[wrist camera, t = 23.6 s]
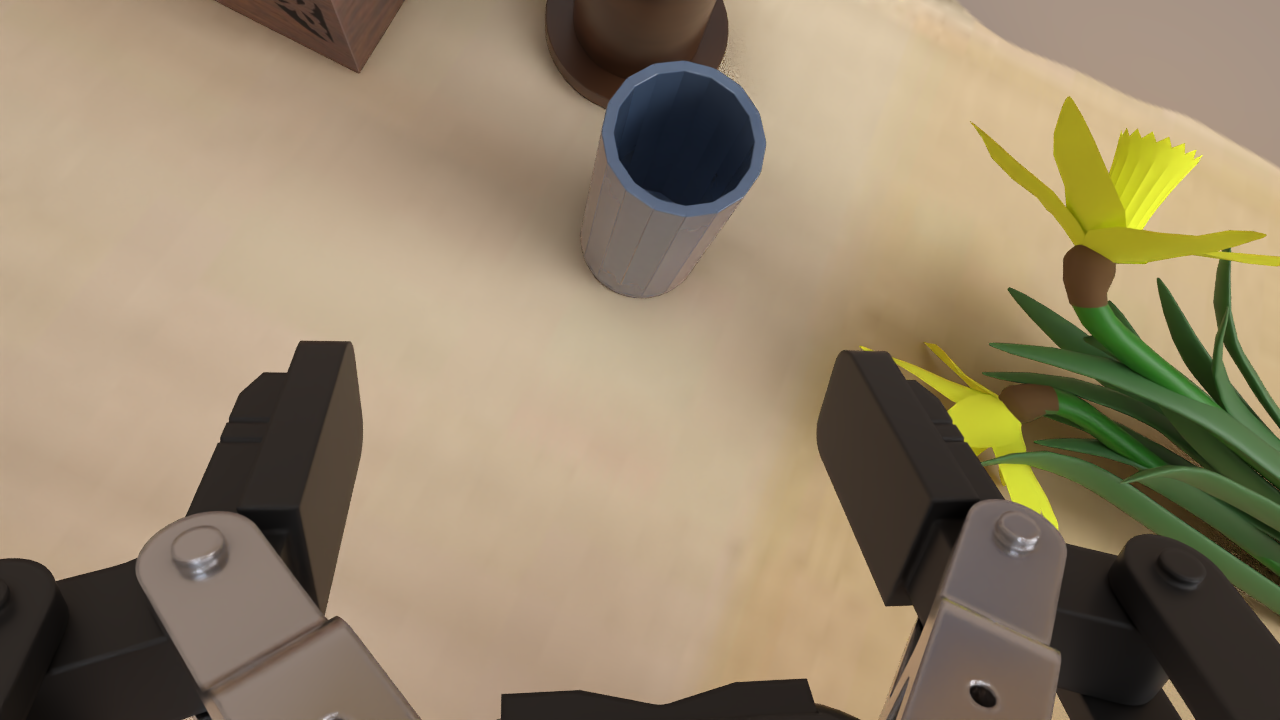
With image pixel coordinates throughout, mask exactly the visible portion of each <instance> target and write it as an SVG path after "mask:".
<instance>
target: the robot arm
mask: <svg viewBox="0 0 1280 720" xmlns="http://www.w3.org/2000/svg"><path fill="white" fill-rule="evenodd" d="M362 441H363V419H362V410H361V402H360V394H359V386H358V378H357V370H356V362H355V354H354V348H353V345H352V343H351V342H350V341H300V342H299V344H298V346H297V348H296V351H295V354H294V356H293V359H292V361H291V364H290V367H289V369H288V372H287V373H269V372H263V373H262V374H261V375H260V376H259V377H258V378H257V379H256V380H254V381H253V382H252V383H251V384H250V385H249V386H248V387H247V388H245V389H244V390H243V391H242V392H241V393H240V394H239V396H238V398H237V401H236V403H235V405H234V408H233V410H232V412H231V414H230V417H229V423H226V426H225V428H224V430H223V433H222V435H221V437H220V443H218V444H217V446H216V448H215V451H214V453H213V455H212V458H211V460H210V462H209V464H208V467H207V469H206V471H205V473H204V476H203V478H202V480H201V483H200V485H199V487H198V489H197V492H196V494H195V496H194V498H193V501H192V503H191V505H190V508H189V510H188V512H187V514H186V516H185V517H184V518H182V519H179V520H177V521H175V522H173V523H171V524H169V525H167V526H166V527H164V528H163V529H161V530H160V531H158V532H157V533H156V534H155V535H154V536H152V537H151V538H150V540H149V541H148V542H147V543H146V544H145V545H144V547H143V548H142V550H141V551H140V553H139V556H138V558H136V559H134V560H131V561H129V562H126V563H123V564H120V565H117V566H113V567H110V568H106V569H102V570H98V571H94V572H90V573H86V574H82V575H78V576H74V577H71V578H67V579H63V580H59V581H55V579H54V577H53V575H52V573H51V572H50V571H49V570H48V569H47V568H46V567H45V566H44V565H42V564H40V563H38V562H35V561H32V560H27V559H20V558H8V559H0V720H182V719H185V718H188V717H191V716H192V717H193V719H194V720H421V718H420V717H419V716H418V714H417V713H416V712H415V710H414V709H413V708H412V707H411V705H410V704H409V703H408V701H407V700H406V699H405V697H404V696H403V695H402V693H401V692H400V691H399V690H398V688H397V687H396V686H395V684H394V683H393V682H392V680H391V679H390V678H389V676H388V675H387V674H386V673H385V671H384V670H383V669H382V667H381V666H380V665H379V663H378V662H377V661H376V659H375V658H374V657H373V656H372V654H371V653H370V652H369V650H368V649H367V648H366V646H365V645H364V644H363V642H362V641H361V640H360V639H359V637H358V636H357V635H356V633H355V632H354V631H353V629H352V628H351V627H350V626H349V625H348V624H347V623H346V622H345V621H344V620H343V619H342V618H340V617H338V616H335V617H334V618H332V619H330V620H328V619H327V618H326V617H325V611H326V607H327V603H328V598H329V594H330V589H331V585H332V581H333V576H334V572H335V567H336V563H337V558H338V554H339V550H340V545H341V541H342V536H343V532H344V528H345V523H346V519H347V514H348V510H349V506H350V501H351V497H352V492H353V488H354V484H355V479H356V475H357V470H358V466H359V461H360V457H361V451H362ZM817 445H818V450H819V454H820V456H821V459H822V461H823V463H824V466H825V468H826V470H827V472H828V475H829V477H830V479H831V482H832V484H833V486H834V489H835V491H836V493H837V496H838V498H839V500H840V502H841V505H842V507H843V509H844V512H845V514H846V516H847V519H848V521H849V523H850V526H851V528H852V530H853V532H854V535H855V537H856V539H857V542H858V544H859V546H860V549H861V551H862V553H863V556H864V558H865V560H866V562H867V565H868V567H869V569H870V572H871V574H872V576H873V579H874V581H875V583H876V586H877V588H878V590H879V592H880V595H881V597H882V599H883V602H884V604H885V606H909V605H913V606H914V609H915V611H916V613H917V615H918V618H917V620H916V622H915V624H914V626H913V628H912V630H911V633H910V636H909V638H908V641H907V644H906V647H905V649H904V652H903V655H902V657H901V660H900V663H899V666H898V668H897V671H896V674H895V676H894V679H893V682H892V685H891V687H890V690H889V693H888V695H887V698H886V701H885V704H884V706H883V709H882V712H881V714H880V717H879V719H878V720H1051V718H1052V713H1053V707H1054V701H1055V695H1056V693H1057V695H1058V697H1059V699H1060V701H1061V703H1062V705H1063V707H1064V708H1065V710H1066V712H1067V714H1068V716H1069V718H1070V720H1182V719H1181V717H1180V716H1179V714H1178V713H1177V711H1176V710H1175V708H1174V706H1173V705H1172V703H1171V702H1170V700H1169V698H1168V697H1167V695H1166V694H1165V692H1164V691H1163V689H1162V687H1163V686H1164V684H1165V683H1166V682H1167V681H1168V680H1169V679H1170V680H1171V682H1172V683H1173V685H1174V687H1175V688H1176V690H1177V691H1178V693H1179V694H1180V696H1181V697H1182V699H1183V700H1184V702H1185V704H1186V705H1187V707H1188V708H1189V710H1190V711H1191V713H1192V714H1193V716H1194V718H1195V720H1280V644H1279V643H1278V641H1277V640H1276V639H1275V638H1274V636H1273V635H1272V634H1271V633H1270V631H1269V630H1268V629H1267V628H1266V626H1265V625H1264V624H1263V623H1262V621H1261V620H1260V619H1259V618H1258V616H1257V615H1256V614H1255V613H1254V611H1253V610H1252V609H1251V608H1250V606H1249V605H1248V604H1247V603H1246V601H1245V600H1244V599H1243V597H1242V596H1241V595H1240V594H1239V592H1238V591H1237V590H1236V589H1235V587H1234V586H1233V585H1232V584H1231V582H1230V581H1229V580H1228V579H1227V577H1226V576H1225V575H1224V574H1223V572H1222V571H1221V570H1220V569H1219V568H1218V567H1217V566H1216V565H1215V564H1214V563H1213V562H1212V561H1211V560H1210V559H1208V558H1207V557H1206V556H1204V555H1203V554H1202V553H1200V552H1199V551H1197V550H1195V549H1194V548H1192V547H1190V546H1188V545H1186V544H1184V543H1182V542H1180V541H1177V540H1175V539H1172V538H1169V537H1165V536H1160V535H1153V534H1142V535H1138V536H1135V537H1133V538H1131V539H1130V540H1129V541H1128V542H1127V543H1126V545H1125V546H1124V548H1123V549H1122V551H1121V552H1120V554H1119V555H1118V556H1117V555H1113V554H1108V553H1104V552H1100V551H1096V550H1091V549H1087V548H1083V547H1078V546H1074V545H1070V544H1067V543H1065V541H1064V539H1063V537H1062V536H1061V534H1060V532H1059V531H1058V530H1057V529H1056V528H1055V526H1054V525H1053V524H1052V523H1051V522H1049V521H1048V520H1047V519H1046V518H1045V517H1043V516H1042V515H1041V514H1039V513H1037V512H1036V511H1034V510H1032V509H1030V508H1028V507H1026V506H1024V505H1021V504H1019V503H1016V502H1012V501H1008V500H1005V499H1004V497H1003V496H1002V494H1001V493H1000V491H999V490H998V488H997V487H996V485H995V484H994V482H993V481H992V479H991V478H990V476H989V475H988V473H987V471H986V470H985V468H984V467H983V465H982V464H981V462H980V461H979V459H978V458H977V456H976V455H975V453H974V452H973V450H972V449H971V447H970V446H969V444H968V443H967V442H964V436H963V435H962V433H961V432H960V430H959V429H958V427H957V426H956V425H953V420H952V418H951V417H950V415H949V414H948V412H947V411H946V409H945V408H944V406H943V405H942V403H941V402H940V400H939V399H938V398H937V397H936V396H934V395H933V394H932V393H931V392H930V391H928V390H927V389H926V388H925V387H923V386H922V385H921V384H920V383H918V382H917V381H916V380H906V379H905V377H904V376H903V374H902V373H901V371H900V369H899V368H898V366H897V365H896V363H895V361H894V360H893V358H892V357H891V355H890V354H889V353H888V352H886V351H853V350H844V351H841V352H840V353H839V355H838V356H837V358H836V361H835V364H834V367H833V371H832V374H831V377H830V381H829V384H828V387H827V391H826V394H825V397H824V401H823V404H822V407H821V411H820V414H819V418H818V422H817ZM498 720H860V719H858V718H856V717H854V716H852V715H849V714H847V713H845V712H842V711H840V710H837V709H834V708H831V707H828V706H825V705H821V704H816V703H814V700H813V697H812V694H811V690H810V687H809V684H808V681H807V679H789V680H770V681H750V682H734V683H731V684H728V685H725V686H722V687H719V688H716V689H713V690H709V691H706V692H703V693H700V694H697V695H694V696H691V697H688V698H684V699H681V700H678V701H675V702H672V703H668V704H664V705H656V704H650V703H644V702H639V701H634V700H629V699H623V698H618V697H613V696H608V695H602V694H597V693H592V692H587V691H582V690H574V691H554V692H535V693H515V694H501V719H498Z"/></svg>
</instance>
